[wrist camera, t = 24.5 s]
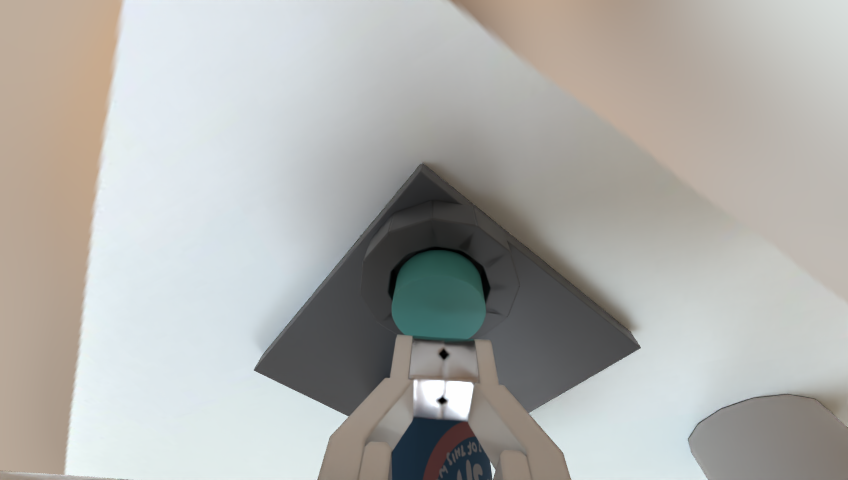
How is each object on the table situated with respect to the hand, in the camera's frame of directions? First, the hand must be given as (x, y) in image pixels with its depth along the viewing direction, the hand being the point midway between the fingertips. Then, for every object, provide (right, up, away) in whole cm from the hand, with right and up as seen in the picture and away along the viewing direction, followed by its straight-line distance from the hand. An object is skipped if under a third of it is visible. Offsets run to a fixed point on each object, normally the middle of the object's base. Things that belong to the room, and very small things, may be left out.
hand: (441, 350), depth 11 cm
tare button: (0, +2, +3) cm, 4 cm away
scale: (0, -3, +9) cm, 9 cm away
